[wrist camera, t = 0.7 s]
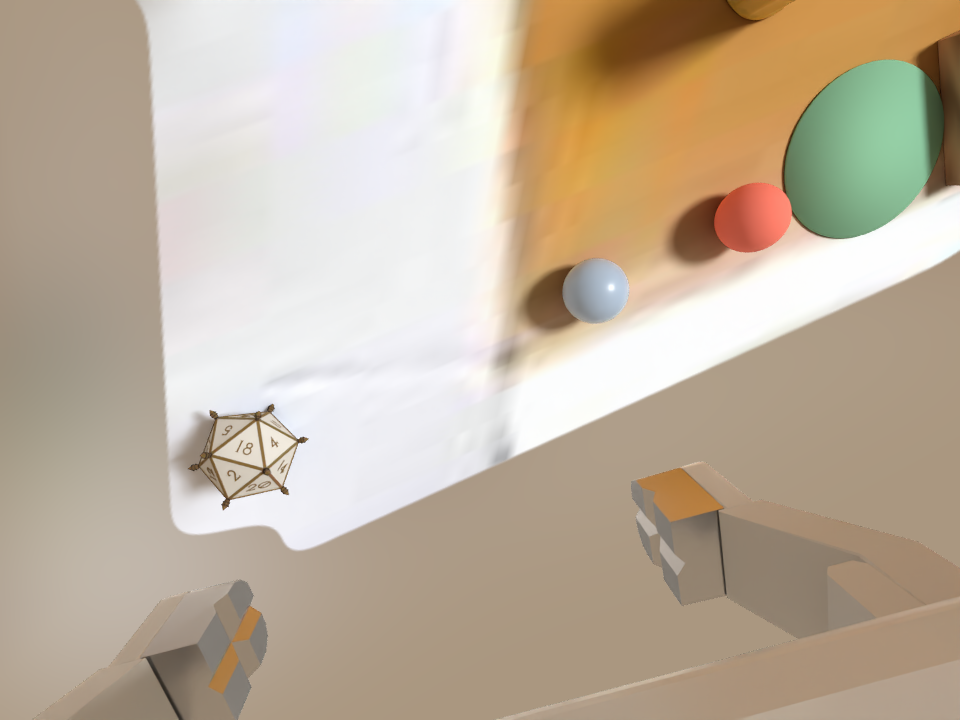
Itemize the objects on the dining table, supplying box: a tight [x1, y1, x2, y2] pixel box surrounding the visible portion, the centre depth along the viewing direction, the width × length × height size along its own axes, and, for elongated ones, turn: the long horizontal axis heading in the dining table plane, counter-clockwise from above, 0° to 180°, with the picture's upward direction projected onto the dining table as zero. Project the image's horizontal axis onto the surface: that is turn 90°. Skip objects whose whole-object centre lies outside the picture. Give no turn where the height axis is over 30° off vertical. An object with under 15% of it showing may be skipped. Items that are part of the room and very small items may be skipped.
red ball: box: [714, 183, 792, 252], centre depth 38 cm, size 6×6×6 cm
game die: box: [188, 404, 308, 510], centre depth 40 cm, size 9×8×10 cm
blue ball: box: [562, 258, 629, 324], centre depth 39 cm, size 6×6×6 cm
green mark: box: [784, 60, 944, 238], centre depth 40 cm, size 14×14×1 cm
